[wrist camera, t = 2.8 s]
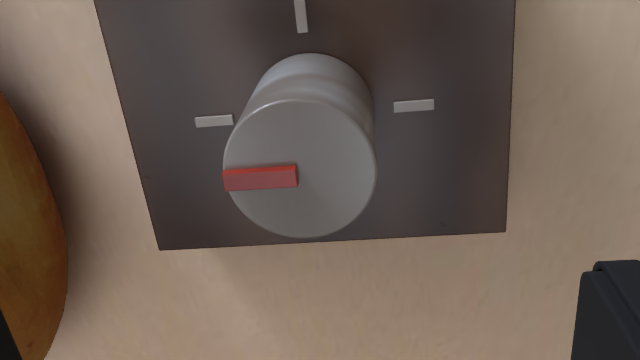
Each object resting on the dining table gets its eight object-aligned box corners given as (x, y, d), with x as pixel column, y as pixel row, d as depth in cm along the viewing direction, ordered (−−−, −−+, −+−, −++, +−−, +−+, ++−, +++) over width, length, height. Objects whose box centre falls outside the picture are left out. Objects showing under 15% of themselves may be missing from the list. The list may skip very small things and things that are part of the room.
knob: (369, 47, 20) (372, 96, 15) (377, 164, 22) (382, 241, 17) (242, 58, 20) (206, 109, 16) (261, 172, 22) (234, 249, 18)
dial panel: (499, -79, 21) (521, -74, 18) (491, 196, 26) (507, 234, 23) (118, -39, 22) (82, -28, 19) (178, 215, 27) (157, 253, 24)
